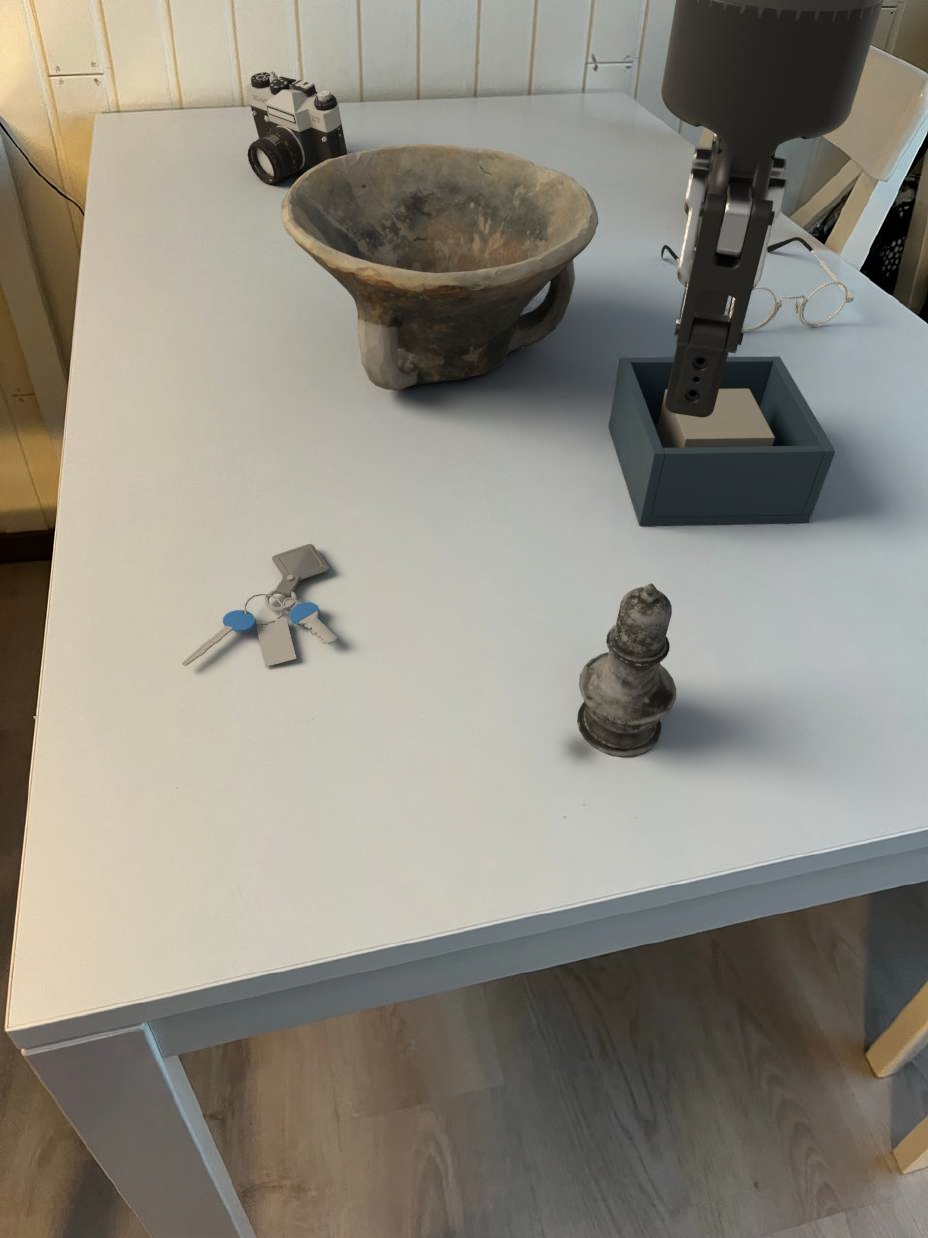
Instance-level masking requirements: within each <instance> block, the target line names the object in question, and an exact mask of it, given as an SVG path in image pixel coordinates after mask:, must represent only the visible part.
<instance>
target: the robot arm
mask: <svg viewBox="0 0 928 1238" xmlns="http://www.w3.org/2000/svg"><path fill="white" fill-rule="evenodd" d="M884 1H885V0H675V3H674V9H673V10H674V11H673V16H672V23H671V29H670V34H669V40H668V41H669V42H668V47H667V53H666V59H665V65H664V72H663V77H662V83H661V89H660V91H661V93H660V94H661V99H662V102H663V104H664V105H665V108H667V110H668V111H669V112H670V113H671V114H672V115H673V116H674V117H676V118H677V119H679V120H681V121H682V122H684V123H686V124H688V125H690V126H693V127H695V128H698V127H703V128H705V129H707V130H709V131H710V132H712V133H713V137H712V142H711V147H709V146H702V145H695V148H694V152H693V158H692V162H691V169H690V174H689V179H688V184H687V190H686V194H685V200H684V203H683V204H684V206H683V209H684V212H685V214H686V216H687V217H686V225H685V230H684V235H683V240H682V246H681V251H680V256H679V259H680V261H679V263H678V267H677V272H676V276H677V279H678V281H679V282H680V284H682V285H683V286H684V290H683V291H684V292H683V296H682V301H681V304H680V310H679V317H676V320H675V324H674V334H673V336H676V342H675V345H676V347H675V352H674V356H673V357H674V361H673V366H672V371H671V375H670V380H669V385H668V390H667V394H666V400H665V407H666V409H667V410H668V411H669V412H671V413H676V414H682V415H688V416H695V417H702V418H703V417H708V416H710V415H711V414H712V413H713V411H714V407H715V403H716V399H717V395H718V391H719V388H720V384H721V380H722V376H723V372H724V368H725V364H726V360H727V357H729V353H731V354H737V353H736V352H737V350H738V347H739V346H742V344H743V341H744V340H743V339H744V334H745V332H743V330H742V328H744V323H745V320H746V317H747V312H748V308H749V304H750V299H751V296H752V292H753V291H755V290H756V289H755V287H758V284H759V283H760V281H761V279H762V275H763V271H764V267H765V261H766V257H767V253H768V252H767V247H768V246H769V242H770V237H771V232H772V228H773V225H774V224H775V223H776V221H777V219H778V217H779V215H780V214H781V212H782V209H783V205H784V200H785V196H786V191H787V185H788V177H785V173H786V168H787V163H788V156H787V155H779V154H776V151H777V150H778V147H779V146H781V145H782V144H784V143H786V142H788V141H791V140H795V139H799V138H800V139H803V140H810V139H816V138H819V137H822V136H826V135H828V134H830V133H832V132H834V131H836V130H838V129H839V128H840V127H841V126H842V125H844V123H845V122H846V121H847V119H848V118H849V116H850V114H851V112H852V108H853V106H854V102H855V99H856V95H857V92H858V90H859V89H858V88H859V86H860V81H861V78H862V75H863V72H864V68H865V65H866V61H867V58H868V55H869V51H870V48H871V46H872V41H873V38H874V34H875V32H876V28H877V24H878V21H879V18H880V14H881V10H882V7H883V4H884ZM754 289H755V290H754ZM729 297H731V298H730V301H729V305H727V304H728V300H729ZM726 306H729V311H727V314H728V315H726V314H725V313H726V312H725V309H726Z"/></svg>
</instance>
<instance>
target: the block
mask: <svg viewBox="0 0 928 1238" xmlns="http://www.w3.org/2000/svg"><path fill="white" fill-rule="evenodd" d="M667 390H668V389H666V390H665V394H664V399H663V404H662V409H661V414H660V418H659V423H658V428H657V434H658V437H659V440H660V442H661V445H662V448H685V447H756V446H772V445H773V442H774V439H775V437H774V435H773V433H772V431H771V429H770V427H769V425H768V424H767V422H766V420H765V418H764V416H763V414H762V412H761V410H760V408H759V406H758V404H757V402H756V401H755V399H754V397H753V395H752V393H751V391H750V389H719V391H718V395H717V399H716V403H715V407H714V411H713V413H712V414H711V415H710V416H708V417H703V418H702V417H695V416H688V415H682V414H676V413H671V412H669V411H668V410H667V409H666V407H665V400H666V394H667Z"/></svg>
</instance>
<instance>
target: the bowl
mask: <svg viewBox="0 0 928 1238" xmlns="http://www.w3.org/2000/svg"><path fill="white" fill-rule="evenodd" d="M347 154H348V155H345V156H341V157H338V158H333V159H328V160H325V161H324V162H322V163H320V164H318V165H317V166H315V167H313V168H311V169H310V170H308V171H307V172H303V174H302V175H301V176H300V177H298V178H297V179H296V180H295V182H294V183H293V184H292V185H291V187H290V188H289V189H288V190H287V192H286V193H285V195H284V197H283V198H282V201H281V205H280V207H281V208H280V219H281V221H282V224H283V227H284V229H285V231H286V232H287V233H288V235H289V236H290V237H291V238H292V240H293V241H294V242H295V243H296V245H298V246H299V247H300V248H301V249H302V250H303V251H304V252H305V253H307V254H308V256H309V257H311V258H312V259H313V260H314V261H315V263H317V265H319V267H321V268H323V269H324V270H325V271H327V273H329V274H330V275H331V276H332V277H333V278H334V279H335V280H336V281H337V282H338V283H339V284H340V285H341V286H342V287H343V288H344V289H345V290H346V291H347V292H348V294H350V296H351V297H352V299H353V302H354V303H355V306H356V307H355V308H356V311H357V335H358V336H357V337H358V338H357V339H358V344H359V345H358V346H359V352H360V359H361V365H362V366H363V368H364V371H365V373H366V375H367V378H368V380H369V381H370V382H371V383H372V384H373V385H374V386H376V387H378V388H381V389H383V390H389V391H399V390H402V389H405V388H408V387H411V386H416V385H426V384H434V383H439V382H440V383H441V382H448V381H459V380H465V379H468V378H472V377H473V376H481V375H486V374H488V373H490V372H492V371H494V370H495V369H497V368H498V367H500V366H501V365H502V364H504V363H505V361H506V360H507V358H508V355H509V353H511V352H514V351H517V350H521V349H524V348H527V347H530V346H534V345H536V344H538V343H540V342H542V341H543V340H544V339H546V338H547V337H548V336H549V335H550V334H551V333H552V332H554V331H555V330H556V329H557V327H558V326H559V324H560V323H561V322H562V320H563V319H564V317H565V314H566V311H567V309H568V306H569V304H570V301H571V298H572V294H573V290H574V286H575V280H576V275H575V264H574V259H576V258H577V257H578V256H579V255H580V254H581V253H583V252H584V250H586V248H587V247H588V245H590V243H592V240H593V238H594V237H595V234H596V233H597V227H598V226H599V213H598V210H597V207H596V205H595V202H594V200H593V198H592V196H591V195H590V193H589V192H588V191H587V190H586V188H585V187H583V186H582V185H581V184H580V183H578V181H576V179H574V178H573V177H571V176H570V175H568V174H566V173H564V172H561V171H559V170H555V169H553V168H552V169H551V168H548V167H545V166H543V165H540V164H538V163H536V162H533V161H531V160H529V159H527V158H525V157H522V156H520V155H517V154H516V155H515V154H513V153H510V152H509V153H508V152H504V151H502V150H495V149H489V148H479V147H478V148H477V147H476V148H475V147H468V146H467V147H466V146H458V145H448V144H433V143H407V144H400V145H393V146H382V147H377V148H372V149H367V150H366V149H365V150H360V151H356V152H351V153H347ZM548 284H549V286H548V291H547V293H546V295H545V297H544V299H543V300H542V302H541V303H540V304H539V305H538V306H537V307H536V308H534V309H532V310H531V311H528V312H525V313H523V312H524V310H525V308H527V306H528V305H530V303H531V302H532V301H533V300H534V298H536V297H537V296H538V294H540V292H541V291H542V290H543V289H544V288H545V287H546V286H547V285H548ZM522 313H523V314H522Z"/></svg>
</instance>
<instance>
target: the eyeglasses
mask: <svg viewBox="0 0 928 1238" xmlns="http://www.w3.org/2000/svg"><path fill="white" fill-rule="evenodd" d="M793 242H799V243H801V244H802V245H803V247H805V249H807V250H808V251H809V253H810V254H812V255H813V256H815V258H816V259H817V260H818V262H819V264H820V265H821V266H822V267H823V268H824V270H825V272H826V273H827V274H828V275H829V276H830V278H832V281H828V282H825V283H823V284H821V285H820V286H817V288H815V289H814V290H813V291H812V292H810V294H809V295H808V296H807V297H805V295H804V294H802V295H796V296H795V295H794V296H787V295H782V296H779V298H778V301H777V298H776V295H775V293H774V292H773V291H772V290H771V289H770V288H768V287H765V286H756V287H755V289H754V290H753V291H755V290H765V291H768V292H769V293H771V294H772V296H773V300H774V301H773V302H772V304H771V306H770V308H769V310H768V311H767V314H768V316H767V317H766V318H765V319H764V320H763V321H762V322H760V323H758V324H756V325H753V326H750V327H743V328H742V332H744V333H748V332H754V331H756V330H760V329H761V328H763V327H765V326H766V325H768V324H769V323H770V322H771V321H773V320H774V318H775V317H776V315H777V314H778V312H779V310H780V308H782V307H783V303H782V301H783V299H784V300H785V299H789V300H793V299H796V300H794V311H795V314H798V315H797V316H798V319H799V321H800V322H801V324H802V325H805V326H806V327H813V328H817V327H819V325H822V324H825V323H827V322H829V321H830V320H832V319H833V318H834V317H836V316H837V315H838V314H839V313H840V311H841V310H842V309H843V308H844V306H845V304H847V303H851V302H854V300H855V297H854V296H853V294H851V292H850V291H849V290H848V288H847V286H845V285H844V284H843V283H842V281H841V280H839V278H838V277H837V276H836V275H835V274H834V272H833V271H832V270H831V269H830V268H829V267H828V266H827V264H826V263H825V262H824V261H823V260H821V259H820V258H819V256H818V255H817V254H816V251H815V249H814V248H813V247H812V246H811V244H810V243H808V242H807V241H806V240H805V239H804V238H802V237H800V236H794V237H791V238H788V239H784V240H782V241H779V242H776V243H773V244H770V245H768V247H767V252H766V253H772V252H774V251H777V250H778V249H780V248H782V247H785V246H787V245H788V244H791V243H793ZM665 250H666V251H667V252H668V253H669V254H670V256H671V257H672V258H673V260H674V261H675V262H677V263H678V264H679V261H680V256H678V255H677V254H676V253H675V251H674V250H673V249H672V248H671V246H669V245H668V244H664V245H662V247H661V251H660V258H661V260H663V258H664V253H665ZM830 285H837V286H838V287H839V288H840V290H841V291H842V292H843V293H844V298H843V300H842V303H841V304H840V306H839V307H838V308H837V310H836V311H835V312H834V313H832V314H831V315H830V316H828V317H827V318H825V319H824V320H821V321H817V322H811V321H807V320H806V318H805V315H804V313H805V308H806V305H807V304H808V302H809V301H810V299H811V298H812V297H813V296H814V295H815V294H816V293H817V292H818V291H820V290H821V289H823V288H824V287H825V288H826V287H827V286H830ZM798 299H800V301H799V302H798ZM729 306H730V305H726V309H725V313H727V316H728V311H729Z"/></svg>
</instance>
